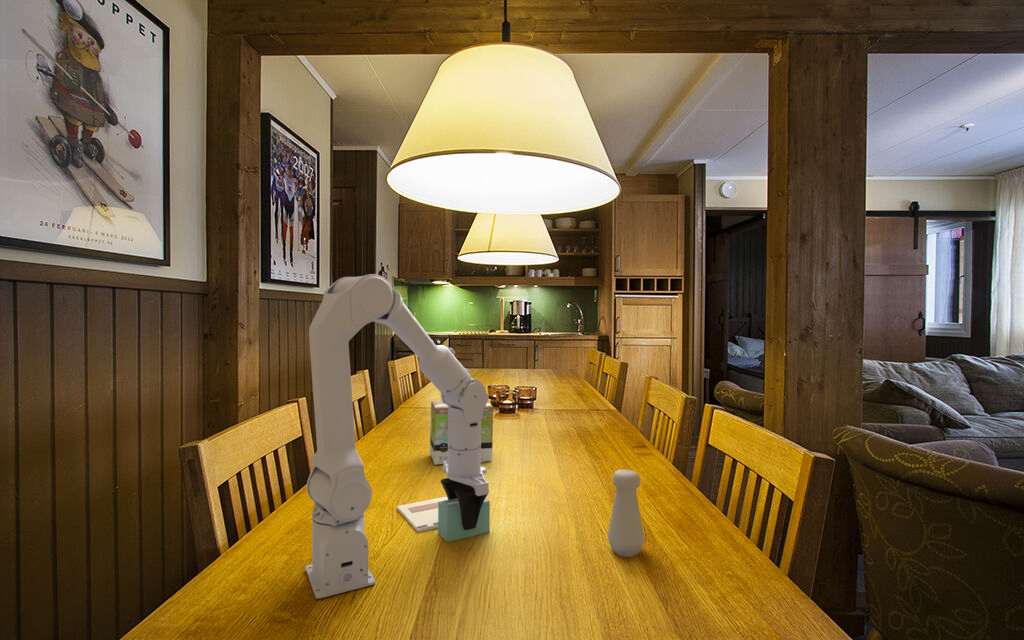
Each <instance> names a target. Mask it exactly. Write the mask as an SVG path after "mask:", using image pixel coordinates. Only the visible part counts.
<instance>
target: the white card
mask: <svg viewBox="0 0 1024 640" xmlns="http://www.w3.org/2000/svg"><path fill="white" fill-rule="evenodd" d="M445 500H448V498H447V496H443V497H438V498H432V499H427V500H421V501H416V502H410V503H405V504H401V505H396V510H397V511H398V512H399V513H400V514H401V516H402V517H403V518H404V519H405V520H406V521H407V522H408V523H409V524H410V525H411V527H412V528H413V529H414V530H415V531H416V532H417V533H422V532H426V531H431V530H435V529H438V502H440V501H445Z"/></svg>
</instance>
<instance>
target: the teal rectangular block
mask: <svg viewBox="0 0 1024 640" xmlns="http://www.w3.org/2000/svg"><path fill="white" fill-rule="evenodd" d="M490 507H491V502H490V500H489V499H487V497H486V498H485V500H484V502H483V504H482V507H481V510H480V513H479V517H478V521H477V525H476V528H474V529H469V530H464V528H463V525H462V517H461V509H460V504H459V501H458V498H455V499H450V500H445V501H440V502H438V528H437V531H438V532H437V534H438V535H439V536H440V537H441V538H442V539H444V541H445V542H446V543H449V542H454V541H457V540H458V541H459V540H463V539H466V538H470V537H474V536H478V535H484V534H488V533H490V525H491V524H490V521H491V519H490V518H491V517H490V516H491V515H490V511H491V510H490Z"/></svg>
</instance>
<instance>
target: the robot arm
mask: <svg viewBox="0 0 1024 640" xmlns="http://www.w3.org/2000/svg"><path fill="white" fill-rule="evenodd" d="M373 322H374V323H377V324H382V325H385V326H387V328H389V329H390V331H392V332H393V333H394V335H396V336H397V337H398V338H399V339H400V340H401V341H402V342H403V343H404V344H405V345H406V346H407V347H408V348H409V349H410V350H411V351H412V353H414V354H415V355H416V356H417V358H419V360H418V361H419V362H418V368H419V370H420V371H421V372H422V373H423V375H425V377H426V378H427V379H428V380H429V381H430V383H432V385H433V386H434V387H435V388H436V389H437V390H438V391H439V392H440V398H441V399H440V400H441V401H442V402H443V403H444V404H446V405H447V406H449V407H448V461H443V464H442V472H443V473H445V474H446V477H445V478H442V479H440V484H441V485H442V488H443V489H444V492H445V495H446V497H447V498H448V500H450V499H455V498H458V501H459V504H460V509H461V517H462V525H463V528H464V530H469V529H474V528H476V525H477V521H478V517H479V513H480V510H481V507H482V504H483V502H484V500H485V498H486V499H487V497H488V496H489V494H490V491H489V489H490V488H489V481H487V480H486V479H485V476H484V474H486V473H487V468H486V467H484V466H481V465H482V464H481V463H482V462H481V419H482V418H483V410H484V407H485V406H486V404H487V402H489V401H488V400H489V396H490V394H489V393H487V390H486V387H485V385H484V383H483V382H482V381H481V380H479V379H475V378H472V375H471V370H470V369H469V368H465V366H463V364H462V363H461V362H460V361H459V360H458V359H457V358H456V356H455V354H456V351H455V350H454V349H453V348H452V347H447V346H446V345H443V344H439V345H437V344H436V343H435V342H434V341H433V339H431V337H430V335H429V334H428V333H427V332H426V330H425V329H424V328H423V327H422V325H421V323H419V321H418V320H417V318H416V317H415V316H414V315H413V313H412V311H411V310H410V309H409V308H408V307H407V305H406V304H405V303H404V300H403V298H402V295H401V293H400V292H399V291H397V290H396V289H395V288H393V287H392V285H391V283H390V282H389V281H388V279H386V278H385V277H383V276H382V275H379V274H375V273H373V274H372V273H370V274H366V275H362V276H361V275H359V276H344V277H340V278H339V279H337V280H335V282H333V283H332V284H331V285H330V286H329V287H327V288H326V289H325V290H324V291H323V298H322V302H321V303H320V305H319V307H318V309H317V311H316V313H315V315H314V317H313V319H312V321H311V323H310V324H309V327H308V328H309V329H308V341H309V355H310V368H311V382H312V384H311V385H312V394H313V395H312V397H313V410H314V425H315V436H316V449H317V450H316V452H315V453H314V455H313V456H312V457H311V469H310V473H309V476H308V479H307V482H306V491H307V492H306V493H307V494H308V496H309V498H310V499H311V500H312V501H313V502H314V505H313V510H312V513H311V539H312V540H311V541H312V542H311V559H312V560H311V562H312V563H311V564H308V565H306V566H305V571H306V574H307V577H308V581H309V583H310V585H311V588H312V592H313V595H314V597H315V599H319V600H320V599H322V598H323V599H324V598H326V597H331V596H336V595H338V594H343V593H346V592H351V591H353V590H357V589H361V588H365V587H368V586H373V585H375V584H376V579H375V577H374V575H373V574H372V572H371V570H370V569H369V539H368V538H367V536H366V533H365V512H366V511H367V509H368V508H369V506H370V504H371V503H372V501H371V500H372V497H373V490H372V487H371V484H370V482H369V481H368V479H367V478H366V475H365V468H364V464H363V461H362V460H361V457H360V454H359V453H358V450H357V447H356V434H355V421H354V420H355V418H354V406H353V405H354V403H353V392H352V375H351V362H350V361H351V360H350V347H349V346H350V345H349V343H350V341H351V340H352V338H353V337H354V336H355V335H356V334H357V333H358V332H360V331H361V329H362V328H363V327H365V326H366V325H368V324H370V323H373Z"/></svg>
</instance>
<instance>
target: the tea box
mask: <svg viewBox="0 0 1024 640" xmlns="http://www.w3.org/2000/svg"><path fill="white" fill-rule="evenodd" d="M430 404H431V405H430V428H429V429H430V435H429V437H430V438H429V439H430V440H429V455H430V457H431V459H432V462H433V464H434V466H437V465H443V461H448V407H449V406H447V405H446V404H444V403H443V402H442V400H431V403H430ZM493 427H494V406H493V405H492V404H491V403H490V402H489V401H487V404H486V406H485V407H484V410H483V418H482V419H481V463H485V462H484V461H491V462H492V461H493V443H494V442H493V436H494V435H493V434H494V433H493V431H494V430H493Z"/></svg>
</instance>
